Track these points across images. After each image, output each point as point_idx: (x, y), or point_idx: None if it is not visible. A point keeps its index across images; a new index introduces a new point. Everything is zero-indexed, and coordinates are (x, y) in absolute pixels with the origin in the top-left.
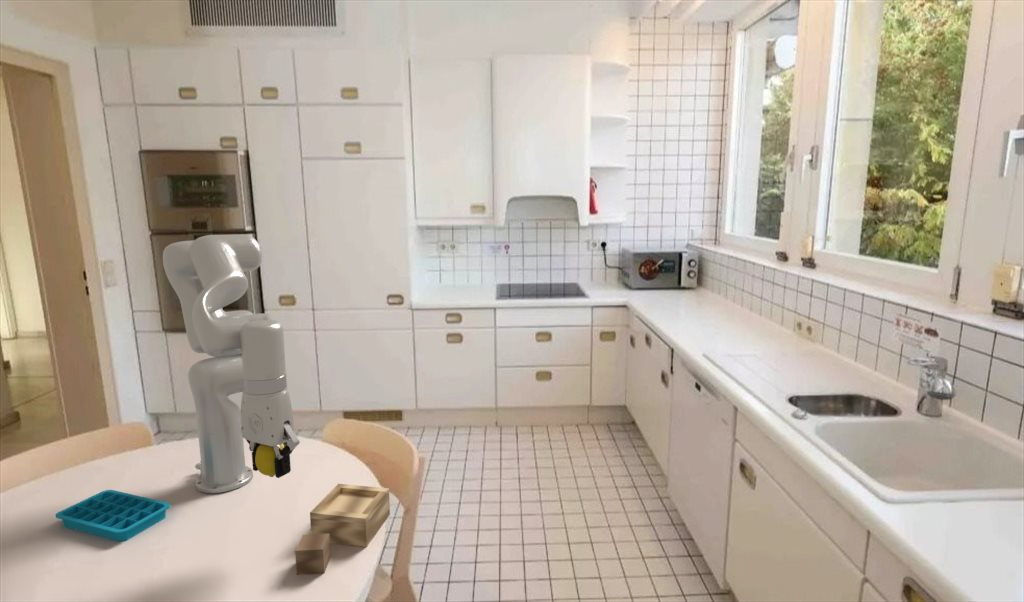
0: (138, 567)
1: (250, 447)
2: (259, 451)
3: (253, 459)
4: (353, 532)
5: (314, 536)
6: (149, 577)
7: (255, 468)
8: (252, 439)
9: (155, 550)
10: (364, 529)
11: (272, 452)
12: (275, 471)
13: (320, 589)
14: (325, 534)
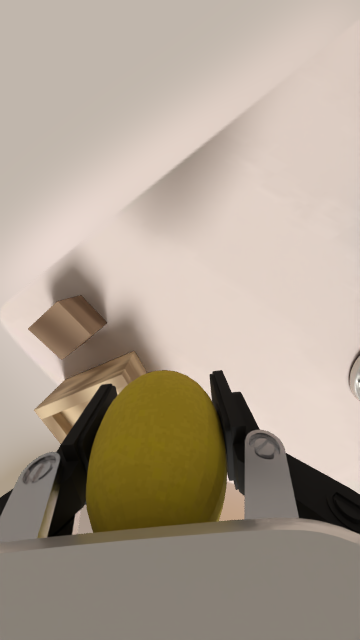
0: (297, 158)
1: (274, 449)
2: (150, 450)
3: (224, 398)
4: (69, 385)
5: (71, 342)
6: (254, 157)
7: (213, 377)
8: (189, 568)
9: (315, 201)
10: (50, 395)
11: (87, 477)
12: (100, 396)
13: (28, 294)
14: (63, 355)
